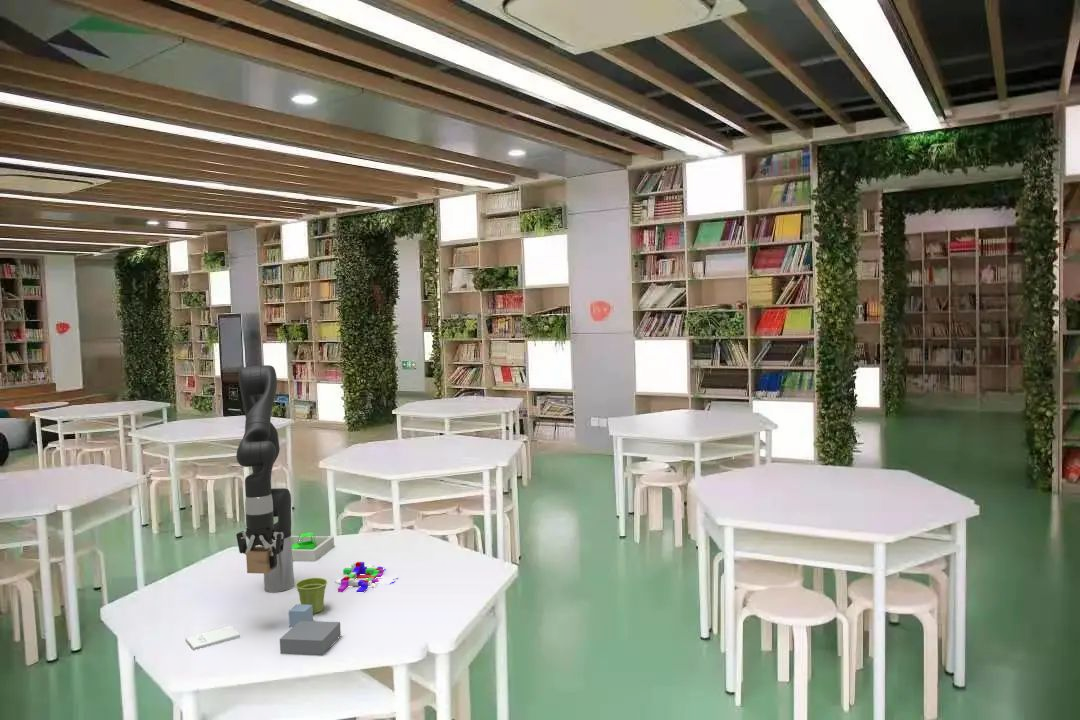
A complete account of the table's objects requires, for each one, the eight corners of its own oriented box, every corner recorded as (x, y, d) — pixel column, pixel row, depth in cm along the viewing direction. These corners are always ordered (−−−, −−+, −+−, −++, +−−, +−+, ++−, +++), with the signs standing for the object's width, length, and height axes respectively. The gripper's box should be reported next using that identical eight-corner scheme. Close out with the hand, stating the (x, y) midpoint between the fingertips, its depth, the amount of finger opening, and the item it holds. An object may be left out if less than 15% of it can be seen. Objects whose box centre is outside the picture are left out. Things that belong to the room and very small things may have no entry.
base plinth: (300, 634, 218) (299, 620, 218) (340, 636, 217) (340, 622, 216) (280, 653, 206) (279, 638, 206) (322, 655, 205) (322, 640, 204)
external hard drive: (240, 639, 217) (193, 652, 210) (231, 630, 224) (185, 642, 216) (239, 633, 217) (193, 646, 210) (230, 624, 224) (185, 637, 216)
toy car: (312, 547, 299) (311, 531, 299) (317, 552, 293) (316, 535, 293) (283, 553, 293) (282, 536, 293) (287, 558, 288) (286, 540, 287)
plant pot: (330, 603, 241) (328, 576, 240) (327, 615, 232) (325, 587, 231) (299, 606, 240) (297, 578, 239) (294, 618, 230) (293, 589, 230)
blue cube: (297, 620, 228) (296, 604, 228) (313, 621, 228) (312, 604, 227) (289, 627, 224) (288, 610, 223) (305, 628, 223) (304, 611, 222)
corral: (291, 545, 302) (291, 535, 302) (334, 546, 299) (333, 536, 299) (270, 560, 285) (269, 549, 284) (314, 561, 282) (314, 550, 282)
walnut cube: (257, 566, 226) (256, 546, 226) (276, 566, 225) (276, 546, 225) (247, 573, 220) (246, 552, 220) (266, 573, 220) (265, 552, 219)
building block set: (384, 594, 249) (384, 581, 248) (324, 593, 251) (323, 580, 251) (407, 568, 273) (407, 556, 273) (352, 567, 276) (351, 555, 276)
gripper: (288, 507, 224) (291, 564, 226) (242, 506, 227) (245, 562, 228) (276, 514, 217) (279, 572, 218) (229, 513, 219) (231, 571, 220)
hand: (262, 567), depth 223 cm, fingers closed on walnut cube, 6 cm apart
